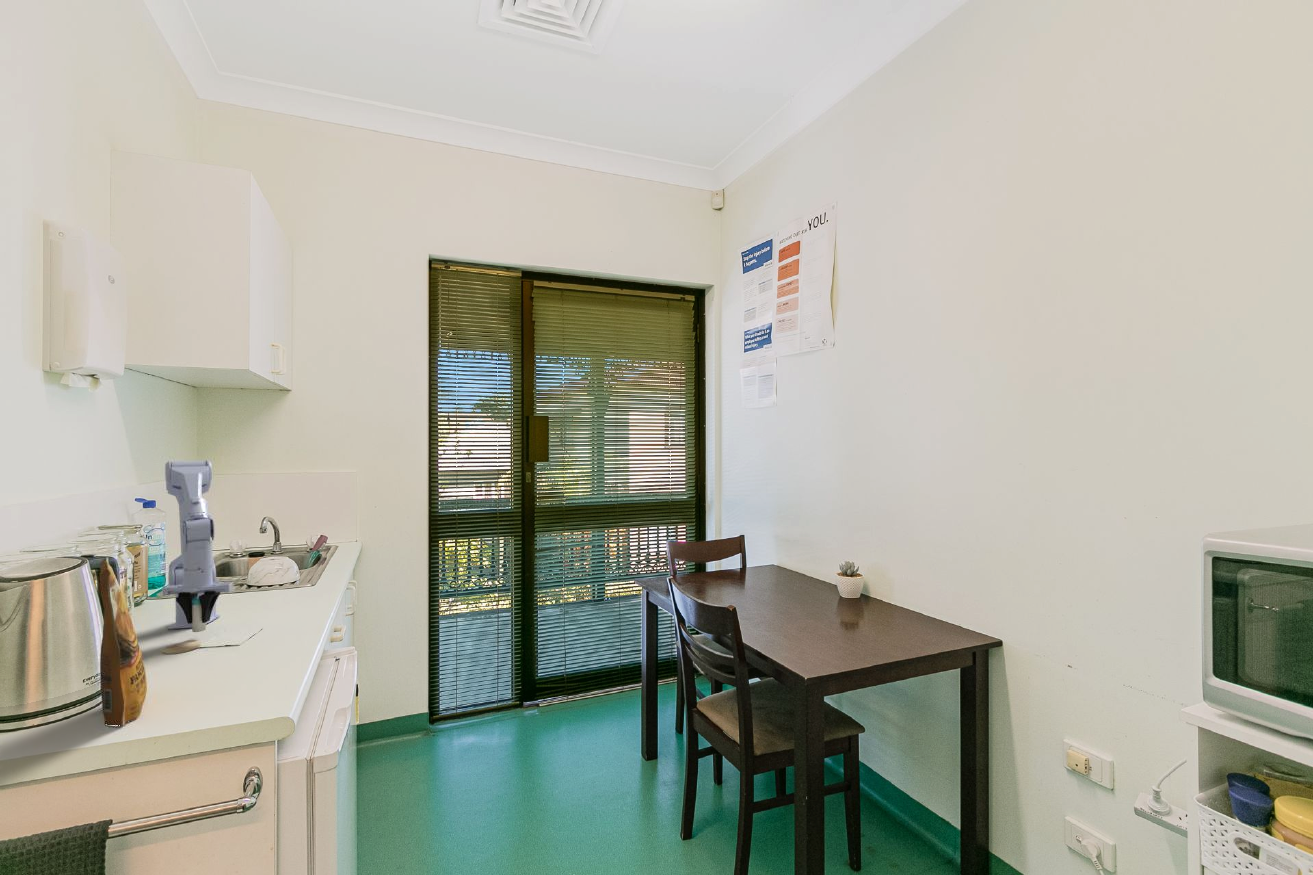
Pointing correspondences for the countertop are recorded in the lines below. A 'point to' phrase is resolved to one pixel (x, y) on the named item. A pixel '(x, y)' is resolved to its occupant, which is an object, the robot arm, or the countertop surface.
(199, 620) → the marker
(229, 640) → the paper
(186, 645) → the coaster
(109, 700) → the pancake mix bag
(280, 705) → the countertop surface
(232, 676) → the countertop surface
